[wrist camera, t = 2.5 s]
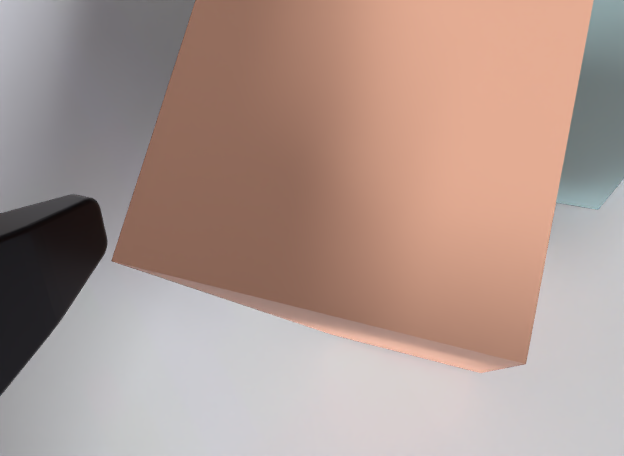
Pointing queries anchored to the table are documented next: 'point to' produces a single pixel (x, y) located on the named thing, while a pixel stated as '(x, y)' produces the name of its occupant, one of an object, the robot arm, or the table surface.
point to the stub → (366, 166)
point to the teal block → (597, 113)
